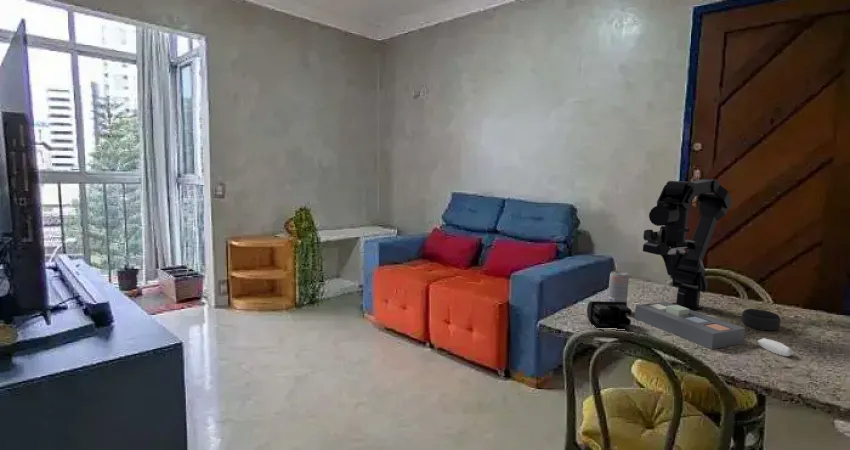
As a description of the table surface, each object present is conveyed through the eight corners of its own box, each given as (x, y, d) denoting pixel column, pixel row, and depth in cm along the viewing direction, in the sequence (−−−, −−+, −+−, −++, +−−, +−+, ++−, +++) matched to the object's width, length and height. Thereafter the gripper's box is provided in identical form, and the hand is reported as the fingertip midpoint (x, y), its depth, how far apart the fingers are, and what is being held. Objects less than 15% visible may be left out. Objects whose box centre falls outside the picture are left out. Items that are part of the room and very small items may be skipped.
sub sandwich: (786, 360, 114) (787, 348, 113) (754, 346, 121) (755, 336, 121) (796, 358, 115) (797, 347, 114) (763, 345, 122) (765, 335, 122)
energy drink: (622, 309, 149) (625, 271, 147) (628, 314, 143) (631, 275, 142) (604, 308, 149) (608, 270, 148) (609, 313, 144) (613, 274, 142)
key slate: (694, 325, 131) (695, 316, 131) (707, 330, 128) (708, 321, 127) (684, 327, 130) (684, 318, 129) (697, 332, 126) (698, 322, 126)
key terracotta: (715, 332, 126) (716, 323, 125) (729, 338, 122) (730, 328, 122) (704, 334, 124) (705, 325, 124) (719, 340, 121) (720, 330, 120)
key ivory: (657, 311, 142) (658, 303, 142) (669, 316, 138) (670, 307, 138) (647, 313, 140) (648, 305, 140) (659, 317, 137) (660, 309, 136)
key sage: (675, 313, 136) (676, 304, 136) (688, 317, 133) (689, 308, 132) (665, 314, 135) (666, 306, 134) (678, 319, 131) (679, 310, 131)
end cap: (620, 321, 137) (622, 298, 136) (631, 330, 130) (633, 306, 129) (585, 321, 137) (587, 298, 136) (595, 330, 130) (597, 306, 129)
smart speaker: (776, 324, 138) (778, 311, 138) (781, 334, 131) (783, 320, 130) (739, 319, 142) (741, 306, 142) (742, 328, 135) (744, 314, 134)
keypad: (663, 314, 145) (665, 301, 144) (743, 343, 123) (745, 328, 122) (634, 318, 140) (635, 305, 139) (711, 349, 118) (713, 333, 118)
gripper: (674, 219, 152) (669, 267, 154) (630, 221, 145) (625, 271, 147) (706, 224, 142) (701, 275, 144) (661, 226, 135) (656, 280, 137)
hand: (670, 275), depth 143 cm, fingers closed
